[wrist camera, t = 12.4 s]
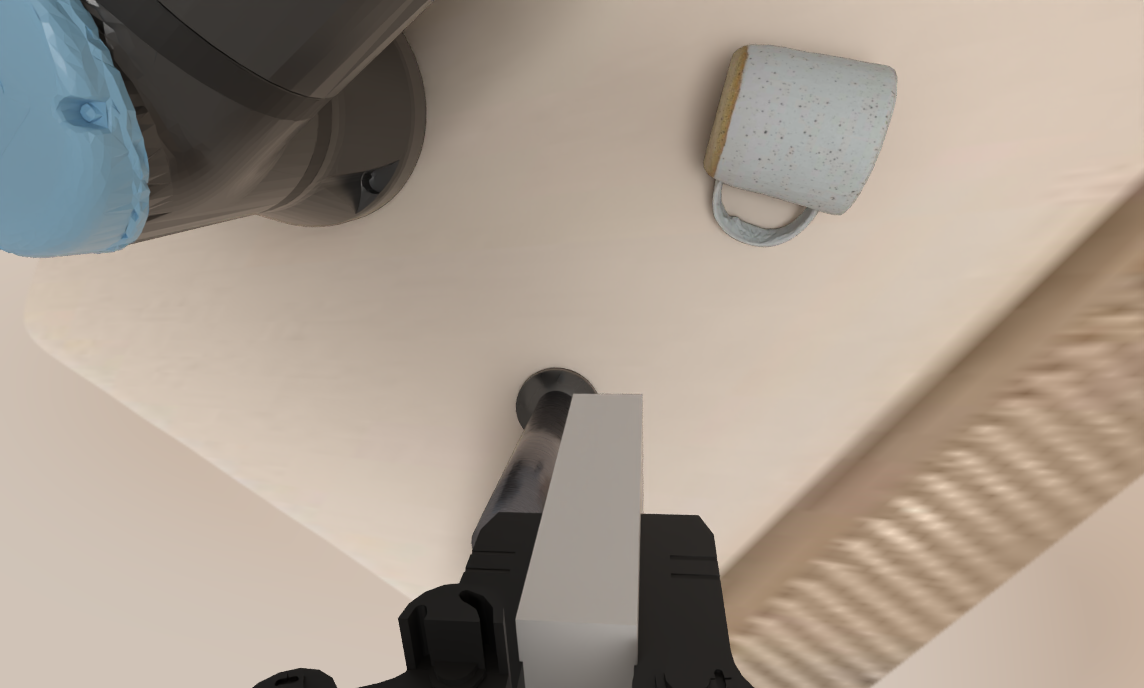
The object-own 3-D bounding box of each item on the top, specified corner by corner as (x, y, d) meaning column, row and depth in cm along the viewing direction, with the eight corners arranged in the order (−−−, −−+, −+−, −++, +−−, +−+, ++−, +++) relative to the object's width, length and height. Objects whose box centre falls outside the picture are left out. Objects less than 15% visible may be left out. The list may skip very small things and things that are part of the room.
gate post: (519, 442, 48) (446, 591, 33) (515, 366, 46) (436, 487, 31) (600, 447, 47) (564, 602, 32) (600, 369, 45) (561, 496, 30)
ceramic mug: (729, 44, 37) (740, 29, 30) (873, 71, 36) (920, 63, 29) (683, 226, 41) (683, 251, 34) (813, 254, 40) (841, 286, 33)
